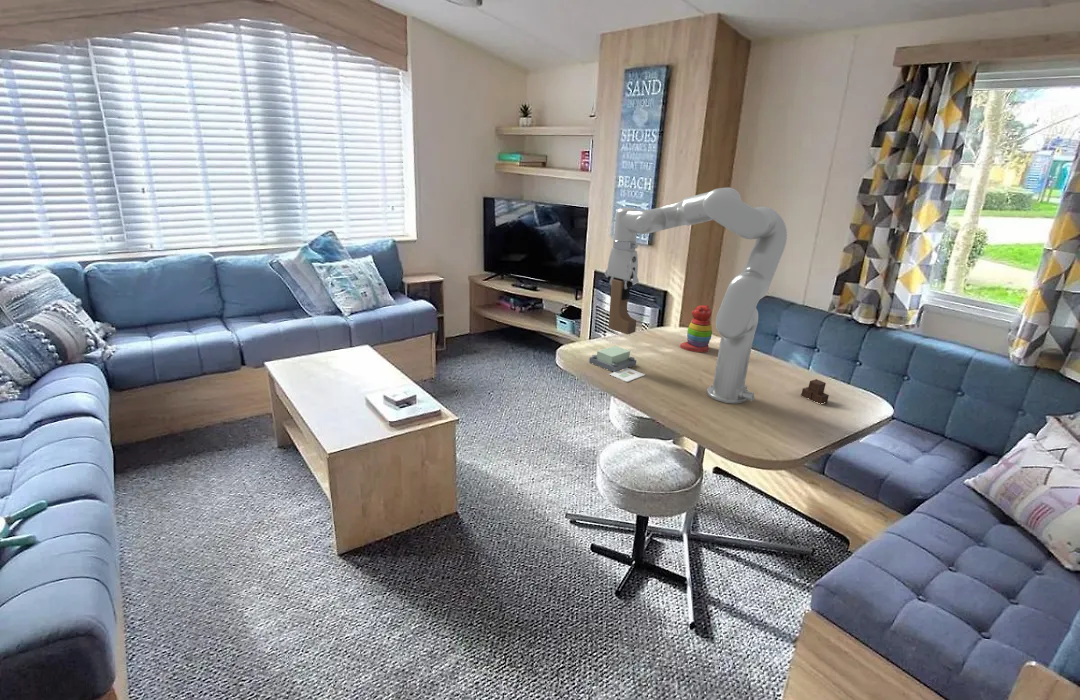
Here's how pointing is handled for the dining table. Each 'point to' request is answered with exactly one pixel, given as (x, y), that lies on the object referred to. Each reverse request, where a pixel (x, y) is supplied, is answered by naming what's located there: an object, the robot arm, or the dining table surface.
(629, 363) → the baseplate
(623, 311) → the wooden block
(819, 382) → the stack of crates
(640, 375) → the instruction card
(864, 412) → the dining table surface
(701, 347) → the stacking bear
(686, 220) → the robot arm
